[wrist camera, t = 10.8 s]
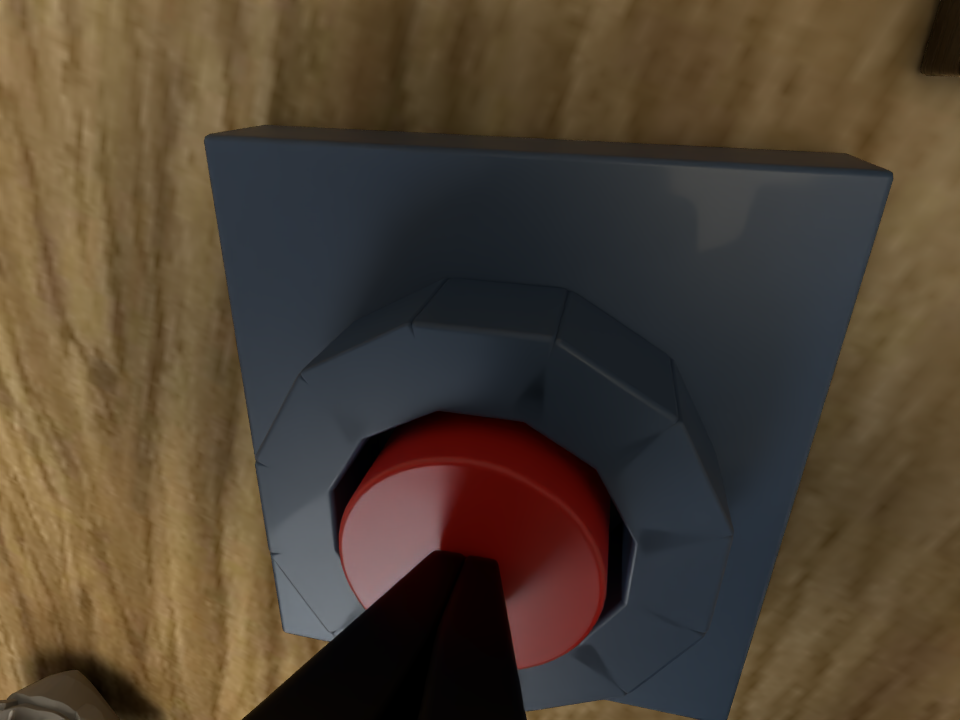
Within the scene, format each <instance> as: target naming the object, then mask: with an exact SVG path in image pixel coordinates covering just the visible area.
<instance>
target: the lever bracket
mask: <svg viewBox="0 0 960 720" xmlns="http://www.w3.org/2000/svg"><path fill="white" fill-rule="evenodd" d="M921 73H922V74H924V75H926V76H956V77H960V0H941V2H940V5H939V9H938V12H937V15H936V19H935V22H934V25H933V29H932V32H931V35H930V38H929V42H928V45H927V48H926V52H925V55H924V58H923V62H922V65H921Z"/></svg>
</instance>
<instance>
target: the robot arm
mask: <svg viewBox="0 0 960 720" xmlns="http://www.w3.org/2000/svg"><path fill="white" fill-rule="evenodd" d="M242 720H527V719H526V714H525V708H524V703H523V697H522V692H521V686H520V680H519V675H518V669H517V664H516V658H515V653H514V647H513V642H512V636H511V631H510V625H509V620H508V614H507V609H506V603H505V598H504V592H503V587H502V581H501V576H500V570H499V565H498V563H497V561H496V560H494V559H490V558H484V557H478V556H473V555H470V556H468V557H467V558H466V559H465V556H464V555H462V554H461V553H455V552H450V551H444V550H435V551H433V552H431V553H430V554H429V555H428V556H427V557H425V558H424V559H423V560H422V561H421V562H420V563H419V564H417V565H416V566H415V567H414V568H413V569H412V570H411V571H410V572H408V573H407V574H406V575H405V576H404V577H403V578H402V579H400V580H399V581H398V582H397V583H396V584H395V585H394V586H393V587H391V588H390V589H389V590H388V591H387V592H386V593H385V594H384V595H382V596H381V597H380V598H379V599H378V600H377V601H376V602H374V603H373V604H372V605H371V606H370V607H369V608H368V609H367V610H365V611H364V612H363V613H362V614H361V615H360V616H359V617H357V618H356V619H355V620H354V621H353V622H352V623H351V624H350V625H348V626H347V627H346V628H345V629H344V630H343V631H342V632H341V633H339V634H338V635H337V636H336V637H335V638H334V639H333V640H331V641H330V642H329V643H328V644H327V645H326V646H325V647H324V648H322V649H321V650H320V651H319V652H318V653H317V654H316V655H314V656H313V657H312V658H311V659H310V660H309V661H308V662H307V663H305V664H304V665H303V666H302V667H301V668H300V669H299V670H298V671H296V672H295V673H294V674H293V675H292V676H291V677H290V678H288V679H287V680H286V681H285V682H284V683H283V684H282V685H281V686H279V687H278V688H277V689H276V690H275V691H274V692H273V693H271V694H270V695H269V696H268V697H267V698H266V699H265V700H264V701H262V702H261V703H260V704H259V705H258V706H257V707H256V708H254V709H253V710H252V711H251V712H250V713H249V714H248V715H247V716H245V717H244V718H243V719H242Z"/></svg>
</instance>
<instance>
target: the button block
mask: <svg viewBox="0 0 960 720" xmlns="http://www.w3.org/2000/svg"><path fill="white" fill-rule="evenodd" d="M204 144H205V150H206V156H207V162H208V169H209V175H210V181H211V187H212V193H213V200H214V206H215V212H216V218H217V224H218V231H219V237H220V243H221V249H222V255H223V262H224V268H225V274H226V280H227V286H228V293H229V299H230V305H231V311H232V318H233V324H234V330H235V336H236V342H237V349H238V355H239V361H240V367H241V373H242V380H243V386H244V392H245V398H246V404H247V411H248V417H249V423H250V429H251V435H252V442H253V448H254V454H255V460H256V463H255V467H256V474H257V480H258V486H259V492H260V498H261V504H262V511H263V517H264V523H265V529H266V535H267V541H268V548H269V550H270V553H271V554H270V555H271V559H272V566H273V572H274V578H275V584H276V591H277V597H278V603H279V609H280V615H281V622H282V628H283V631H284V632H286V633H290V634H295V635H299V636H304V637H309V638H314V639H318V640H323V641H328V642H330V641H331V640H333V639H334V638H335V637H336V636H337V635H338V634H339V633H341V632H342V631H343V630H344V629H345V628H346V627H347V626H348V625H350V624H351V623H352V622H353V621H354V620H355V619H356V618H357V617H359V616H360V615H361V614H362V613H363V612H364V611H365V608H364V607H363V606H362V605H361V603H360V602H359V601H358V599H357V598H356V596H355V594H354V593H353V591H352V590H351V588H350V585H349V583H348V581H347V579H346V577H345V574H344V571H343V568H342V565H341V560H340V554H339V530H340V523H341V519H342V516H343V513H344V510H345V508H346V506H347V504H348V502H349V501H350V499H351V497H352V495H353V494H354V492H355V491H356V489H357V488H358V486H359V484H360V483H361V481H362V480H363V478H364V477H365V475H366V474H367V472H368V470H369V469H370V467H371V466H372V464H373V463H374V461H375V460H376V458H377V456H378V455H379V453H380V452H381V450H382V449H383V447H384V445H385V444H386V442H387V441H388V439H389V438H390V436H391V435H392V433H393V431H394V430H395V428H396V427H397V426H400V425H402V424H405V423H407V422H410V421H413V420H415V419H418V418H420V417H423V416H426V415H428V414H431V413H433V412H436V411H443V412H451V413H458V414H466V415H473V416H481V417H488V418H496V419H503V420H511V421H519V422H524V423H526V424H527V425H529V426H530V427H532V428H533V429H535V430H536V431H538V432H539V433H541V434H542V435H544V436H546V437H547V438H549V439H550V440H552V441H553V442H555V443H556V444H558V445H559V446H561V447H562V448H564V449H565V450H567V451H568V452H570V453H572V454H573V455H575V456H576V457H578V458H579V459H581V460H582V461H584V462H585V463H587V464H588V465H590V466H591V467H593V468H594V469H596V470H597V472H598V474H599V476H600V478H601V480H602V482H603V484H604V486H605V487H606V489H607V491H608V493H609V495H610V497H611V499H610V524H609V550H608V575H607V593H606V599H605V603H604V607H603V610H602V612H601V614H600V616H599V619H598V621H597V622H596V624H595V625H594V627H593V628H592V630H591V631H590V632H589V634H588V635H587V636H586V637H585V638H584V639H583V640H582V641H581V643H580V644H579V645H577V646H576V647H575V648H573V649H572V650H571V651H569V652H568V653H566V654H564V655H563V656H561V657H559V658H557V659H555V660H553V661H550V662H547V663H545V664H542V665H539V666H535V667H530V668H526V669H518V675H519V680H520V686H521V692H522V697H523V703H524V708H525V711H533V710H540V709H546V708H553V707H559V706H565V705H572V704H578V703H584V702H591V701H597V700H609V701H614V702H619V703H623V704H628V705H633V706H638V707H642V708H647V709H652V710H657V711H661V712H666V713H671V714H676V715H681V716H685V717H690V718H695V719H700V720H727V718H728V715H729V712H730V708H731V705H732V702H733V699H734V695H735V692H736V689H737V686H738V682H739V679H740V676H741V673H742V669H743V666H744V663H745V660H746V656H747V653H748V650H749V647H750V643H751V640H752V637H753V634H754V630H755V627H756V624H757V621H758V617H759V614H760V611H761V608H762V604H763V601H764V598H765V595H766V591H767V588H768V585H769V582H770V578H771V575H772V572H773V569H774V565H775V562H776V559H777V556H778V552H779V549H780V546H781V543H782V539H783V536H784V533H785V530H786V526H787V523H788V520H789V517H790V513H791V510H792V507H793V504H794V500H795V497H796V494H797V490H798V487H799V484H800V481H801V477H802V474H803V471H804V468H805V464H806V461H807V458H808V455H809V451H810V448H811V445H812V442H813V438H814V435H815V432H816V429H817V425H818V422H819V419H820V416H821V412H822V409H823V406H824V403H825V399H826V396H827V393H828V390H829V386H830V383H831V380H832V377H833V373H834V370H835V367H836V364H837V360H838V357H839V354H840V351H841V347H842V344H843V341H844V338H845V334H846V331H847V328H848V325H849V321H850V318H851V315H852V312H853V308H854V305H855V302H856V299H857V295H858V292H859V289H860V286H861V282H862V279H863V276H864V273H865V269H866V266H867V263H868V260H869V256H870V253H871V250H872V247H873V243H874V240H875V237H876V234H877V230H878V227H879V224H880V221H881V217H882V214H883V211H884V208H885V204H886V201H887V198H888V195H889V191H890V188H891V185H892V182H893V173H892V172H891V171H889V170H886V169H884V168H881V167H879V166H876V165H874V164H871V163H869V162H866V161H864V160H861V159H859V158H856V157H854V156H851V155H849V154H845V153H825V152H804V151H784V150H764V149H744V148H723V147H703V146H683V145H662V144H642V143H622V142H601V141H581V140H561V139H540V138H520V137H500V136H479V135H459V134H439V133H418V132H398V131H378V130H358V129H337V128H317V127H297V126H276V125H262V126H255V127H249V128H243V129H237V130H231V131H224V132H218V133H212V134H209V135H207V136H205V139H204Z"/></svg>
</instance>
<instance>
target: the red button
mask: <svg viewBox="0 0 960 720" xmlns="http://www.w3.org/2000/svg"><path fill="white" fill-rule="evenodd" d="M610 499H611V497H610V495H609V493H608V491H607V489H606V487H605V486H604V484H603V482H602V480H601V478H600V476H599V474H598V472H597V470H596V469H594V468H593V467H591V466H590V465H588V464H587V463H585V462H584V461H582V460H581V459H579V458H578V457H576V456H575V455H573V454H572V453H570V452H568V451H567V450H565V449H564V448H562V447H561V446H559V445H558V444H556V443H555V442H553V441H552V440H550V439H549V438H547V437H546V436H544V435H542V434H541V433H539V432H538V431H536V430H535V429H533V428H532V427H530V426H529V425H527V424H526V423H524V422H519V421H511V420H503V419H496V418H488V417H481V416H473V415H466V414H458V413H451V412H443V411H436V412H433V413H431V414H428V415H426V416H423V417H420V418H418V419H415V420H413V421H410V422H407V423H405V424H402V425H400V426H397V427H396V428H395V430H394V431H393V433H392V435H391V436H390V438H389V439H388V441H387V442H386V444H385V445H384V447H383V449H382V450H381V452H380V453H379V455H378V456H377V458H376V460H375V461H374V463H373V464H372V466H371V467H370V469H369V470H368V472H367V474H366V475H365V477H364V478H363V480H362V481H361V483H360V484H359V486H358V488H357V489H356V491H355V492H354V494H353V495H352V497H351V499H350V501H349V502H348V504H347V506H346V508H345V510H344V513H343V516H342V519H341V523H340V530H339V554H340V560H341V565H342V568H343V571H344V574H345V577H346V579H347V581H348V583H349V585H350V588H351V590H352V591H353V593H354V594H355V596H356V598H357V599H358V601H359V602H360V603H361V605H362V606H363V607H364V608H365V610H367V609H368V608H369V607H370V606H371V605H372V604H373V603H374V602H376V601H377V600H378V599H379V598H380V597H381V596H382V595H384V594H385V593H386V592H387V591H388V590H389V589H390V588H391V587H393V586H394V585H395V584H396V583H397V582H398V581H399V580H400V579H402V578H403V577H404V576H405V575H406V574H407V573H408V572H410V571H411V570H412V569H413V568H414V567H415V566H416V565H417V564H419V563H420V562H421V561H422V560H423V559H424V558H425V557H427V556H428V555H429V554H430V553H431V552H433V551H435V550H444V551H450V552H455V553H461V554H462V555H464V556H465V559H466V558H467V557H468V556H470V555H473V556H478V557H484V558H490V559H494V560H496V561H497V563H498V565H499V570H500V576H501V581H502V587H503V592H504V598H505V603H506V609H507V614H508V620H509V625H510V631H511V636H512V642H513V647H514V653H515V658H516V664H517V669H526V668H530V667H535V666H539V665H542V664H545V663H547V662H550V661H553V660H555V659H557V658H559V657H561V656H563V655H564V654H566V653H568V652H569V651H571V650H572V649H573V648H575V647H576V646H577V645H579V644H580V643H581V641H582V640H583V639H584V638H585V637H586V636H587V635H588V634H589V632H590V631H591V630H592V628H593V627H594V625H595V624H596V622H597V621H598V619H599V616H600V614H601V612H602V610H603V607H604V603H605V599H606V593H607V575H608V550H609V524H610Z"/></svg>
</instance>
